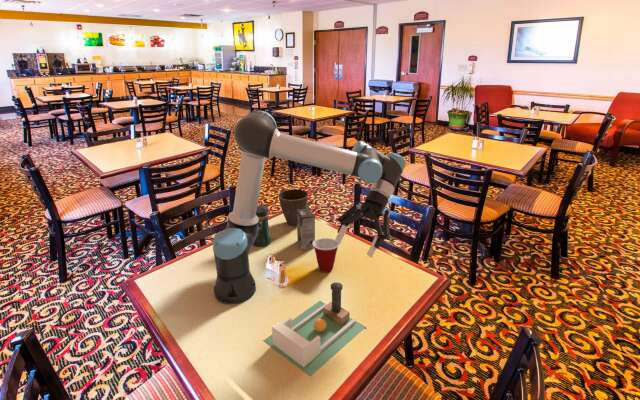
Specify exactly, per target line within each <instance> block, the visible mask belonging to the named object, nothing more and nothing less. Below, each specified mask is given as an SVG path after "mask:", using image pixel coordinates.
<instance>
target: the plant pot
mask: <svg viewBox="0 0 640 400" xmlns="http://www.w3.org/2000/svg"><path fill="white" fill-rule="evenodd" d="M277 197H278V200H279V204H280V208H281V211H282V214H283V217H284V219H285V221H286V223H287V225H288V226H291V227H297V214H296V210H298V209H307V207H308V201H309V193H308V192H307V190H303V189H298V188H297V189H292V188H291V189H286V190H283V191H281V192H280V193H278V196H277Z"/></svg>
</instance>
